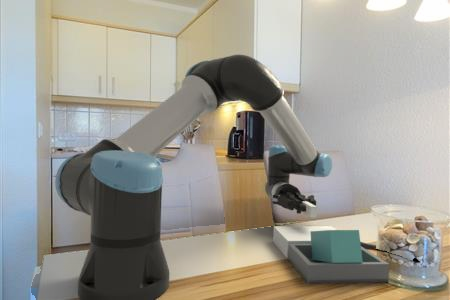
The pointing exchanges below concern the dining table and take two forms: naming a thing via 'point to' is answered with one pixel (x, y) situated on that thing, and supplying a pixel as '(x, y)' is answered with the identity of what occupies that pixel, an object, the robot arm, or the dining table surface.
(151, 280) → the robot arm
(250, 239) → the dining table surface
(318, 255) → the block
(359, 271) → the tray
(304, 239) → the white flat box
